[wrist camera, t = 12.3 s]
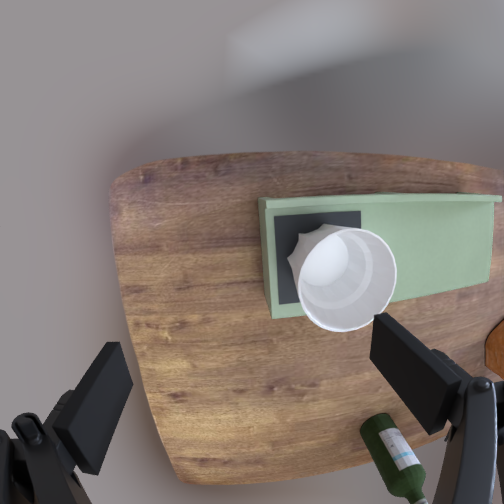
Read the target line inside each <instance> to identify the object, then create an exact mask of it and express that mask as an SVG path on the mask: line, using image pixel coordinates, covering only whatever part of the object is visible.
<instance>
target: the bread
mask: <svg viewBox="0 0 504 504" xmlns="http://www.w3.org/2000/svg"><path fill="white" fill-rule="evenodd" d="M485 351H486V360H485V366H487V367H488V368H489V369H490V370H492V371H493V372H494V373H496V374H497V375H499V376H500V377H501V378H502V379H503V380H504V320H503V321H502V322H501V323H500V324H499V325H498V326H497V327H496V328H495V329H494V330H493V331H492V332H491V334H490V335H489V336H488V339H487V342H486V344H485Z"/></svg>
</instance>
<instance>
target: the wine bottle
mask: <svg viewBox="0 0 504 504" xmlns="http://www.w3.org/2000/svg"><path fill="white" fill-rule="evenodd" d="M360 433H361V436H362V438H363V440H364V442H365V444H366V446H367V448H368V450H369V452H370V454H371V456H372V458H373V460H374V462H375V464H376V466H377V468H378V471H379V473H380V475H381V477H382V479H383V481H384V483H385V485H386V487H387V489H388V491H389V492H390V493H391V494H392V495H394V496H397V497H405V498H407V499H408V501H409V503H410V504H428V503H427V500H426V498H425V496H424V494H423V492H422V488H421V487H422V485H423V483H424V480H425V477H426V473H425V471H424V469H423V467H422V465H421V464H420V462H419V461H418V459H417V457H416V456H415V454H414V453H413V451H412V450H411V448H410V446H409V445H408V443H407V442H406V440H405V439H404V437H403V436H402V434H401V432H400V431H399V429H398V428H397V426H396V425H395V423H394V422H393V420H392V419H391V417H390V416H389V415H387V414H379V415H376V416H373V417H371V418H370V419H368V420H367V421H366V422H365V423H364V424H363V426H362V427H361V430H360Z"/></svg>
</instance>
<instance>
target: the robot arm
mask: <svg viewBox="0 0 504 504" xmlns="http://www.w3.org/2000/svg"><path fill="white" fill-rule="evenodd" d="M370 360H371V361H372V362H373V364H374V365H375V366H376V367H377V369H378V370H379V371H380V372H381V374H382V375H383V376H384V378H385V379H386V380H387V381H388V383H389V384H390V385H391V386H392V388H393V389H394V390H395V392H396V393H397V394H398V395H399V397H400V398H401V399H402V401H403V402H404V403H405V405H406V406H407V407H408V408H409V410H410V411H411V412H412V414H413V415H414V416H415V418H416V419H417V420H418V421H419V423H420V424H421V425H422V427H423V428H424V429H425V431H426V432H427V433H428V435H432V434H434V433H436V432H438V431H440V430H442V429H443V428H444V426H445V424H446V421H447V419H448V420H449V421H450V422H451V424H452V425H451V427H450V429H449V432H448V434H447V436H446V438H445V440H444V441H447V439H448V442H447V447H446V452H445V457H444V461H443V466H442V470H441V474H440V478H439V482H438V486H437V489H436V493H435V497H434V500H433V503H432V504H492V498H493V491H494V483H495V472H496V464H497V469H498V475H499V481H500V487H501V494H502V502H503V504H504V381H500V382H496V383H493V382H492V381H491V380H489V379H487V378H485V377H475V378H472V377H471V376H470V375H469V374H468V373H467V372H466V371H464V370H463V369H462V368H461V367H460V366H459V365H457V364H455V362H454V361H453V360H452V359H450V358H449V357H448V356H447V355H446V354H445V353H443V352H441V351H439V350H436V349H432V350H430V349H428V348H427V347H426V346H425V345H424V344H423V343H422V342H420V341H419V340H418V339H417V338H416V337H415V336H413V335H412V334H411V333H410V332H409V331H408V330H406V329H405V328H404V327H403V326H402V325H401V324H399V323H398V322H397V321H396V320H395V319H394V318H392V317H391V316H390V315H389V314H388V313H381V314H376V315H374V320H373V331H372V341H371V350H370ZM132 386H133V382H132V379H131V376H130V374H129V370H128V367H127V364H126V361H125V358H124V354H123V351H122V348H121V345H120V342H107V343H106V344H105V345H104V347H103V348H102V350H101V351H100V353H99V354H98V356H97V357H96V358H95V360H94V361H93V363H92V364H91V366H90V367H89V369H88V370H87V372H86V373H85V375H84V376H83V378H82V379H81V381H80V382H79V384H78V385H77V387H76V388H75V390H69V391H67V392H66V393H65V394H63V395H62V396H61V398H60V399H59V401H58V402H57V404H56V405H55V407H54V408H53V410H52V411H51V413H50V414H49V416H48V417H47V419H46V420H45V422H44V424H43V425H42V423H41V421H40V420H39V418H38V416H37V415H36V414H34V413H23V414H21V415H19V416H17V417H16V418H15V419H14V420H13V422H12V429H13V431H14V432H15V433H16V435H17V437H18V438H19V439H10V437H9V436H8V434H7V433H6V432H5V431H4V430H0V504H92V503H91V502H90V500H89V498H88V496H87V494H86V492H85V490H84V489H83V487H82V485H81V483H80V481H79V478H78V476H77V475H76V473H75V472H74V471H73V470H74V468H75V466H76V465H77V466H78V467H79V469H80V470H81V471H82V472H83V473H88V474H92V475H98V474H99V472H100V469H101V466H102V463H103V461H104V458H105V455H106V452H107V450H108V447H109V444H110V442H111V439H112V436H113V434H114V431H115V429H116V426H117V424H118V421H119V418H120V416H121V413H122V411H123V408H124V406H125V403H126V401H127V399H128V396H129V393H130V391H131V389H132Z"/></svg>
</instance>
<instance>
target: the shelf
mask: <svg viewBox="0 0 504 504" xmlns="http://www.w3.org/2000/svg"><path fill="white" fill-rule="evenodd" d="M494 202H502V196H498V195H488V194H478V193H466V192H457V194H451V193H394V192H375V194H352V195H327V196H307V197H290V198H270V197H260V198H258V209H259V222H260V236H261V250H262V264H263V278H264V293H265V298H266V301H267V305H268V308H269V311H270V315H271V318H272V319H278V318H287V317H296V316H304V315H307V314H306V313H305V312H304V310H303V308H302V305H301V302H300V299H299V296H298V292H297V289H296V285H295V281H294V277H293V271H292V267H291V265H290V263H289V261H288V259H287V258H288V257H289V256H290V255H291V254H292V253H293V251H294V249H295V247H296V245H297V243H298V241H299V233H303V234H306V233H309V232H312V231H314V230H317V229H319V228H320V227H321V226H322V225H323V224H329V225H335V226H342V227H351V228H358V229H363V230H368V231H371V232H372V233H374V234H376V235H378V236H380V237H381V238H382V239H383V240H384V241H385V242H386V243H387V245H388V246H389V247H390V249H391V251H392V253H393V255H394V258H395V263H396V267H397V278H396V285H395V289H394V292H393V295H392V297H391V299H390V301H389V303H390V302H395V301H401V300H406V299H411V298H417V297H422V296H427V295H431V294H436V293H441V292H445V291H450V290H455V289H459V288H463V287H468V286H472V285H476V284H480V283H484V282H488V280H489V273H490V264H491V255H492V242H493V223H494Z"/></svg>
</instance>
